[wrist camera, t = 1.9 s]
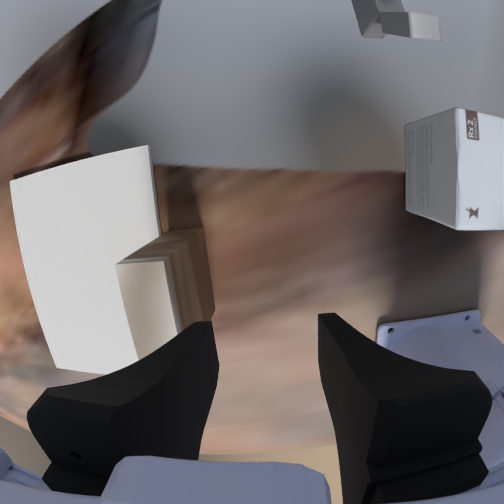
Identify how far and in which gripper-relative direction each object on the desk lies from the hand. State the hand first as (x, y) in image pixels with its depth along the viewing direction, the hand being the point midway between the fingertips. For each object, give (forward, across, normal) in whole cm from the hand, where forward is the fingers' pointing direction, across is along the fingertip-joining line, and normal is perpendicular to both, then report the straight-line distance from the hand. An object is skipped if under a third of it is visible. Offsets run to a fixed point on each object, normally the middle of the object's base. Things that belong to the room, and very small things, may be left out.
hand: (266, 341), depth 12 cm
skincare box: (+10, -13, -6) cm, 17 cm away
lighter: (+11, -9, -16) cm, 21 cm away
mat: (+11, +14, 0) cm, 18 cm away
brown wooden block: (+10, +5, 0) cm, 12 cm away
